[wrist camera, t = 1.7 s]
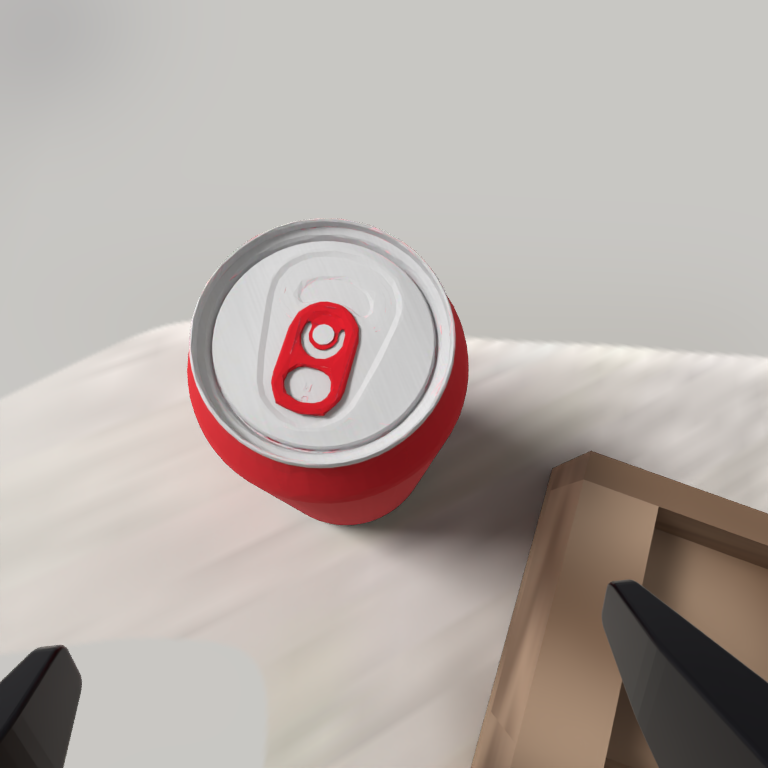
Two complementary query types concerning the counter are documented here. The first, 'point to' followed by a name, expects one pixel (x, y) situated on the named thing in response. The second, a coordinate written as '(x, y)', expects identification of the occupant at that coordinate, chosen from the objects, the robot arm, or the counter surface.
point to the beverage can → (327, 367)
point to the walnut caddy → (585, 603)
